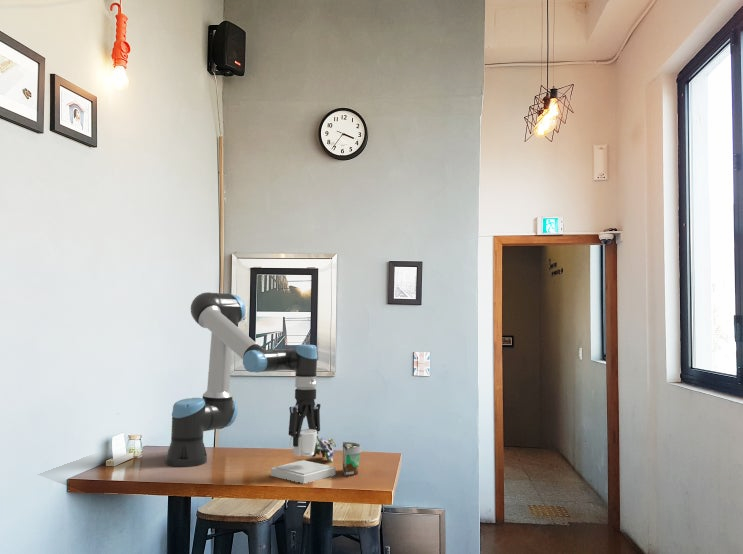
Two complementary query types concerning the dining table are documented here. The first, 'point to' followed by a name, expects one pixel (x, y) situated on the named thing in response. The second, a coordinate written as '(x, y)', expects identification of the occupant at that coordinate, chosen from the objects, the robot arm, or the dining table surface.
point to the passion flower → (324, 449)
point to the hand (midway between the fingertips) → (304, 454)
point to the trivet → (303, 471)
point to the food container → (351, 458)
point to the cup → (307, 442)
